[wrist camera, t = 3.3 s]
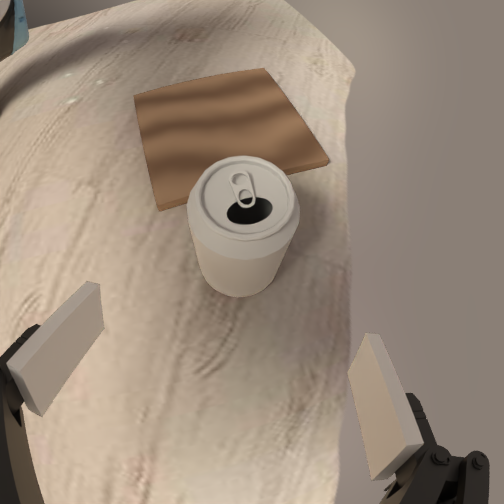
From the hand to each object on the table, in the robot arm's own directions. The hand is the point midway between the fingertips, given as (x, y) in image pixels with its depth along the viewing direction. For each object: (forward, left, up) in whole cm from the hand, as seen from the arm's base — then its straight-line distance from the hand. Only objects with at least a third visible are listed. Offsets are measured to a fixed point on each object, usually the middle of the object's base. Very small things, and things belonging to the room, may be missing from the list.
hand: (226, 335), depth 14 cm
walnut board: (-26, +8, -13) cm, 30 cm away
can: (-8, +4, -13) cm, 16 cm away
